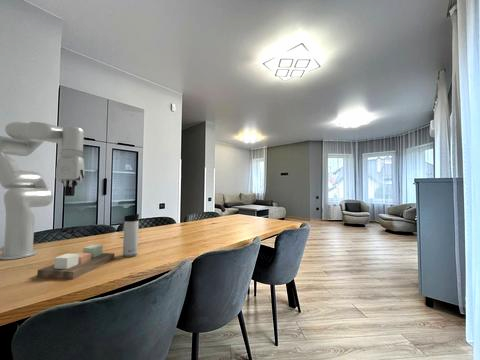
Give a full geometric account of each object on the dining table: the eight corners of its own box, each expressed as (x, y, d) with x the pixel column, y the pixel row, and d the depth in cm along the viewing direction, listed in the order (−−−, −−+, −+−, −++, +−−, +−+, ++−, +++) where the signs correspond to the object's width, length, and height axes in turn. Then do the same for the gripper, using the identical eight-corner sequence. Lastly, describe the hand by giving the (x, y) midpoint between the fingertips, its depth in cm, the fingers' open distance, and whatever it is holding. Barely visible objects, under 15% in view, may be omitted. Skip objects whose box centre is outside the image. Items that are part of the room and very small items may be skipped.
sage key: (82, 257, 92) (83, 247, 92) (91, 253, 97) (92, 244, 97) (93, 257, 92) (94, 248, 92) (102, 254, 97) (102, 245, 97)
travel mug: (131, 257, 100) (133, 214, 101) (119, 256, 101) (121, 214, 102) (140, 253, 106) (142, 213, 107) (129, 252, 108) (130, 212, 108)
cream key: (54, 268, 79) (54, 257, 79) (66, 263, 84) (66, 253, 84) (66, 269, 79) (67, 258, 79) (78, 264, 84) (78, 254, 84)
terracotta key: (69, 266, 86) (69, 256, 86) (79, 262, 91) (80, 252, 91) (81, 267, 85) (81, 256, 85) (90, 262, 90) (91, 253, 90)
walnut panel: (37, 276, 78) (37, 269, 78) (85, 257, 99) (86, 252, 100) (73, 279, 76) (73, 271, 76) (114, 258, 98) (114, 253, 98)
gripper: (48, 153, 92) (45, 195, 92) (80, 153, 91) (78, 196, 90) (64, 155, 100) (61, 195, 99) (94, 156, 99) (91, 196, 98)
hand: (69, 195), depth 95 cm, fingers closed
